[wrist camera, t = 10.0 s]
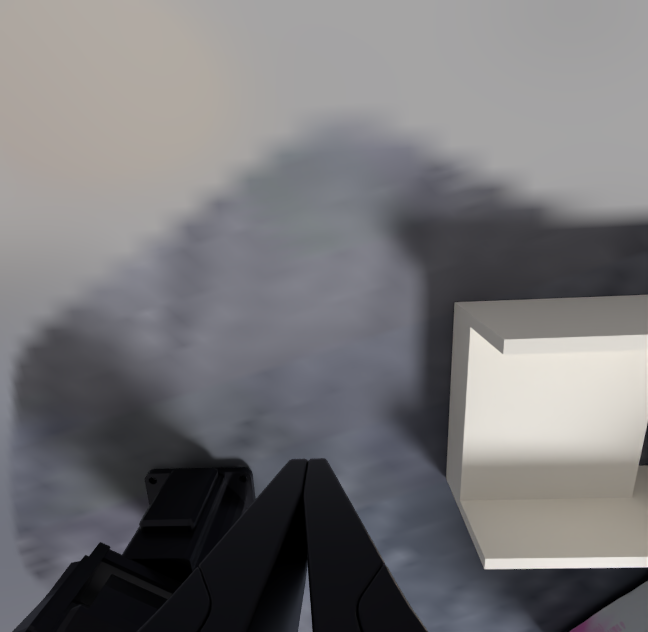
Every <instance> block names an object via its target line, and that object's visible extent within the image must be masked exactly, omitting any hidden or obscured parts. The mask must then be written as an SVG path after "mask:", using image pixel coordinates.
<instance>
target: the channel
mask: <svg viewBox="0 0 648 632" xmlns="http://www.w3.org/2000/svg"><path fill="white" fill-rule="evenodd" d="M647 423H648V295H628V296H602V297H577V298H551V299H525V300H499V301H474V302H455V303H454V324H453V345H452V366H451V386H450V407H449V428H448V449H447V470H446V479H447V482H448V484H449V486H450V489H451V491H452V493H453V496H454V498H455V501H456V503H457V505H458V508H459V510H460V513H461V515H462V517H463V520H464V522H465V524H466V527H467V529H468V532H469V534H470V536H471V539H472V541H473V543H474V546H475V548H476V551H477V553H478V555H479V558H480V560H481V562H482V565H483V567H484V569H552V568H637V567H648V465H643V466H639V461H640V456H641V452H642V447H643V442H644V437H645V433H646V428H647Z"/></svg>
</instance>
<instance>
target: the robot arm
mask: <svg viewBox="0 0 648 632" xmlns="http://www.w3.org/2000/svg"><path fill="white" fill-rule="evenodd" d="M241 475H244V476H246V477H247V478H243V477H241ZM152 477H154V478H156V479H157V480H155V479H153V478H152ZM145 484H146V489H147V494H148V499H149V504H150V507H149V508H148V510H147V511H146V513H145V515H144V516H143V518H142V519H141V521H140V524H139V525H140V527H139V528H138V530H137V531H136V533H135V535H134V536H133V538H132V540H131V541H130V543H129V544H128V546H127V548H126V549H125V551H124V552H123V554H122V555H121V554H119V553H117V552H115V551H112V550H110V546H108V545H105V544H103V543H101V542H100V543H99V544H98V545H97V547H96V548H95V549H94V551H93V552H92V553H91V554H90V556H87V555H85V556H84V557H83V559H82V560H81V561H79V562H73V563H71V564H70V565H69V567H68V568H67V569H66V571H65V572H64V573H63V575H62V576H61V577H60V579H59V580H58V581H57V583H56V584H55V585H54V587H53V588H52V589H51V591H50V592H49V593H48V594H47V595H46V597H45V598H44V599H43V600H42V601H41V602H40V603H39V605H38V606H37V607H36V608H35V609H34V610H33V611H32V612H31V613H30V614H29V615H28V616H27V617H26V618H25V619H24V620H23V621H22V622H21V623H20V624H19V625H18V626H17V627H16V629H14V631H13V632H298V627H299V620H300V614H301V607H302V601H303V594H304V587H305V581H306V573H307V565H308V575H309V588H310V602H311V615H312V629H313V632H428V631H427V629H426V628H425V626H424V625H423V623H422V622H421V621H420V619H419V618H418V616H417V615H416V613H415V612H414V611H413V609H412V608H411V606H410V604H409V603H408V601H407V600H406V598H405V596H404V595H403V593H402V591H401V590H400V588H399V586H398V585H397V583H396V581H395V580H394V578H393V576H392V574H391V573H390V571H389V569H388V567H387V566H386V565H385V562H384V561H383V559H382V557H381V555H380V553H379V552H378V550H377V548H376V546H375V545H374V543H373V541H372V539H371V538H370V536H369V534H368V532H367V530H366V529H365V527H364V525H363V523H362V522H361V520H360V518H359V516H358V514H357V513H356V511H355V509H354V507H353V506H352V504H351V502H350V500H349V498H348V497H347V495H346V493H345V491H344V490H343V488H342V486H341V484H340V483H339V481H338V479H337V477H336V475H335V474H334V472H333V470H332V468H331V467H330V465H329V463H328V461H327V460H326V459H324V458H320V459H310V460H309V461H308V460H307V459H291V460H289V461H288V463H287V464H286V465H285V466H284V467H283V468H282V470H281V471H280V472H279V473H278V474H277V475H276V476H275V478H274V479H273V480H272V481H271V482H270V483H269V485H268V486H267V487H266V488H265V489H264V490H263V491H262V493H261V494H260V495H259V496H258V497H257V498H256V499H255V491H254V482H253V474H252V471H251V470H250V469H248V468H245V467H237V468H184V469H154V470H151V471H149V473H148V474H147V476H146V477H145Z"/></svg>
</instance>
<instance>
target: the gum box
mask: <svg viewBox="0 0 648 632" xmlns="http://www.w3.org/2000/svg"><path fill="white" fill-rule="evenodd" d="M569 632H648V581H646V582H645V583H643V584H642V585H640V586H639V587H637V588H636V589H634V590H633V591H631V592H629V593H628V594H626V595H624V596H622V597H621V598H619V599H617V600H616V601H614V602H613V603H611V604H610V605H608V606H606V607H605V608H603V609H602V610H600V611H599V612H598V613H596V614H594V615H593V616H591V617H590V618H589V619H587V620H586V621H585V622H583V623H582V624H580V625H578V626H577V627H575V628H574V629H572V630H571V631H569Z"/></svg>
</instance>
